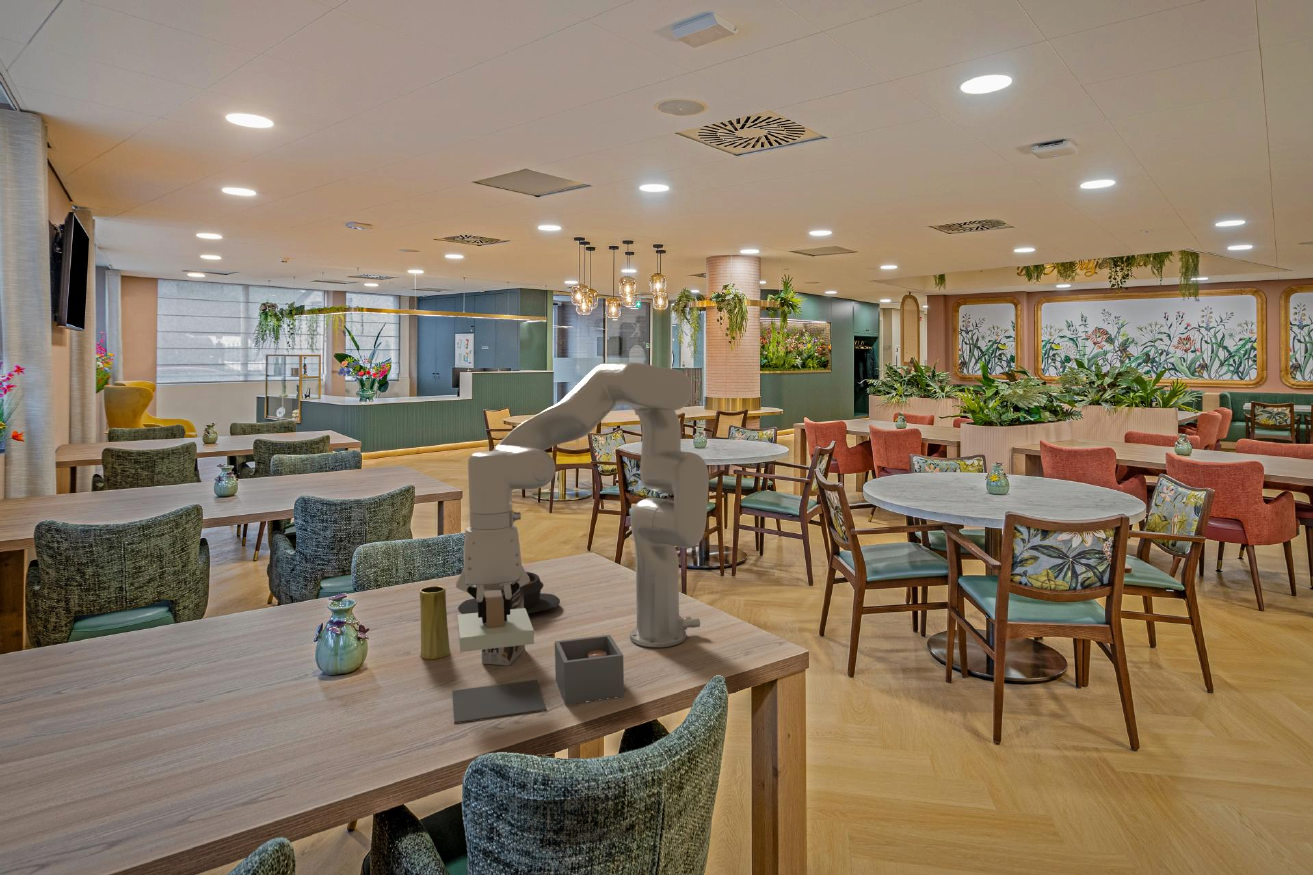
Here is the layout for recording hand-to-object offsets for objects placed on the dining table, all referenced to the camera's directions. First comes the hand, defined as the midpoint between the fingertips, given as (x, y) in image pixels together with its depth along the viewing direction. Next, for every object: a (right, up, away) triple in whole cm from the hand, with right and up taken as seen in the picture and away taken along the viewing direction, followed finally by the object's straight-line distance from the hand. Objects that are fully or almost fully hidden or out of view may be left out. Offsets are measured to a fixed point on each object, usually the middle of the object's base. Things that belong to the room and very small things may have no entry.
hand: (494, 619), depth 138 cm
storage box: (+17, -15, +7) cm, 23 cm away
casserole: (-7, -11, +52) cm, 53 cm away
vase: (-18, -14, +25) cm, 33 cm away
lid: (0, -3, 0) cm, 3 cm away
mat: (0, -16, +2) cm, 16 cm away
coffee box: (-3, -14, +23) cm, 27 cm away
